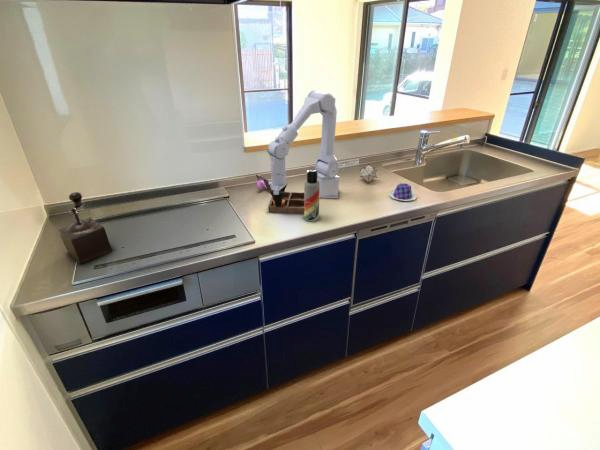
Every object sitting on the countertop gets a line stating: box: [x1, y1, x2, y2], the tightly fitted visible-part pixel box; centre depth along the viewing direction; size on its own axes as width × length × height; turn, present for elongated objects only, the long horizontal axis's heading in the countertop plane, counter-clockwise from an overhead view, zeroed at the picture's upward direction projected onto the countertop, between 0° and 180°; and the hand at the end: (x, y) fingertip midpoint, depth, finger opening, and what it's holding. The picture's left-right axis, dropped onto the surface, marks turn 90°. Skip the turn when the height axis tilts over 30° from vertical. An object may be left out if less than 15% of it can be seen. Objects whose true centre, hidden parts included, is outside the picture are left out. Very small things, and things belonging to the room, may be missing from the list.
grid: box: [268, 191, 304, 215], centre depth 144 cm, size 15×15×3 cm
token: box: [273, 199, 285, 207], centre depth 141 cm, size 5×5×2 cm
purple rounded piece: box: [255, 174, 272, 193], centre depth 157 cm, size 7×5×9 cm
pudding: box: [388, 182, 418, 202], centre depth 151 cm, size 12×12×5 cm
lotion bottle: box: [303, 169, 320, 222], centre depth 130 cm, size 6×6×20 cm
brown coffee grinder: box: [57, 191, 113, 265], centre depth 112 cm, size 16×11×18 cm
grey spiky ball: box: [359, 163, 378, 184], centre depth 165 cm, size 9×8×10 cm
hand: (279, 203), depth 141 cm, fingers closed on token, 5 cm apart
